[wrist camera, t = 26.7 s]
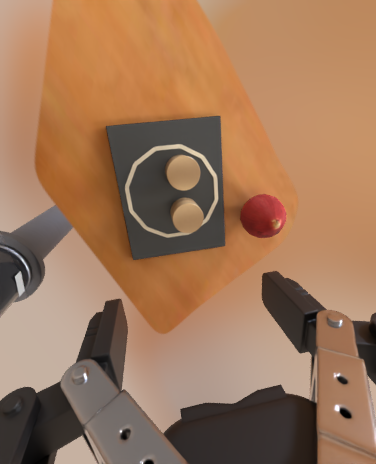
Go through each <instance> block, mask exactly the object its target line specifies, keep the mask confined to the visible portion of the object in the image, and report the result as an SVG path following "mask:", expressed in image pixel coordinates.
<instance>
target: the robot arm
mask: <svg viewBox="0 0 376 464" xmlns="http://www.w3.org/2000/svg"><path fill="white" fill-rule="evenodd" d="M31 280H32V268H31V265H30V263H29V261H28V260H27V259H26V257H25V256H24V255H23V254H22V253H20V252H19V251H18V250H16V249H14V248H13V247H11V246H8V245H5V244H2V243H0V317H1V316H2V315H3V314H4V313H5V311H6V310H7V309H8V308H9V307H10V306H11V305H12V303H13V302H14V301H15V300H16V299H17V298H18V297H20V296H21V295H22V293H23V292H24V291H25V290H26V288H27V287H28V286H29V285H30V283H31ZM262 300H263V303H264V305H265V307H266V308H267V310H268V311H269V313H270V314H271V315H272V317H273V318H274V319H275V321H276V322H277V323H278V325H279V326H280V327H281V329H282V330H283V331H284V333H285V334H286V336H287V337H288V338H289V339H290V341H291V342H292V344H293V345H294V346H295V348H296V349H297V350H298V352H299V353H305V352H310V354H311V370H310V371H311V372H310V395H309V399H306V398H304V397H301V396H298V395H293V394H286V393H285V391H284V390H283V388H282V386H281V385H278V386H273V387H269V388H265V389H261V390H257V391H255V392H254V393H252V394H250V395H249V396H247V397H245V398H243V399H242V400H241V401H238V402H237V403H234V404H223V403H203V404H199V405H195V406H191V407H187V408H183V409H181V417H182V419H180V420H178V421H177V422H175V423H174V424H173V425H171V426H170V427H169V428H168V429H167V430H166V431H165V432H164V433H162V432H161V431H160V430H159V429H158V427H157V426H156V425H155V424H154V423H153V422H152V420H151V419H150V418H149V417H148V416H147V414H146V413H145V412H144V411H143V410H142V409H141V407H140V406H139V405H138V404H137V403H136V401H135V400H134V399H133V398H132V397H131V396H130V394H129V393H128V392H127V391H126V390H122V381H123V371H124V362H125V353H126V343H127V334H128V327H127V320H126V316H125V312H124V309H123V304H122V300H121V299H116V300H111V301H106V302H105V306H104V310H103V312H98V313H96V314H95V315H94V316H93V318H92V319H91V320H90V322H89V325H88V328H87V331H86V334H85V337H84V340H83V343H82V346H81V349H80V352H79V355H78V358H77V361H76V363H75V364H74V365H72V366H71V367H70V368H69V369H68V370H67V371H66V372H65V373H64V375H63V377H62V379H61V381H60V382H58V383H56V384H54V385H52V386H50V387H48V388H46V389H44V390H42V391H40V392H38V393H36V392H35V390H34V389H33V388H31V387H23V388H20V389H17V390H15V391H13V392H12V393H10V394H8V395H7V396H5V397H4V398H3V399H2V400H1V401H0V464H54V461H55V457H56V453H57V450H58V449H60V448H61V447H63V446H65V445H67V444H68V443H70V442H72V441H73V440H75V439H77V438H78V437H80V436H82V437H83V438H84V440H85V442H86V444H87V445H88V448H89V450H90V451H91V453H92V455H93V457H94V459H95V461H96V463H97V464H376V417H375V412H374V407H373V402H372V397H371V391H370V386H369V381H368V376H369V378H370V379H371V380H372V381H373V382H374V383H375V384H376V313H374V314H373V315H372V316H371V320H370V322H366V321H351V320H350V319H349V318H348V317H347V316H346V315H344V314H342V313H340V312H337V311H333V310H327V309H325V308H324V307H323V306H322V305H321V304H320V303H319V302H318V301H317V300H315V299H314V298H313V297H312V296H311V295H310V294H308V292H307V291H306V290H304V289H303V288H302V287H301V286H300V285H299V284H298V283H297V282H295V281H293V280H291V279H289V278H284V277H283V276H282V275H281V274H280V273H279V272H277V271H273V272H268V273H264V274H263V276H262ZM367 375H368V376H367ZM121 390H122V391H121Z"/></svg>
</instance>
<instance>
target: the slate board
mask: <svg viewBox="0 0 376 464" xmlns="http://www.w3.org/2000/svg"><path fill="white" fill-rule="evenodd" d="M106 129H107V134H108V139H109V144H110V149H111V154H112V158H113V163H114V168H115V173H116V178H117V183H118V188H119V193H120V197H121V202H122V207H123V212H124V217H125V222H126V227H127V232H128V236H129V241H130V246H131V251H132V256H133V260H137V259H144V258H150V257H157V256H163V255H170V254H176V253H183V252H189V251H196V250H202V249H208V248H215V247H221V246H225V226H224V200H223V174H222V148H221V123H220V116H213V117H202V118H191V119H180V120H169V121H158V122H147V123H135V124H124V125H113V126H106ZM175 155H185V156H189V157H191V158H193V159H194V160H195V161H196V162H197V163H198V165H199V167H200V178H199V181H198V183H197V184H196V185H195V186H194V187H193V188H191V189H189V190H184V191H183V190H178V189H176V188H174V187H173V186H172V185H171V184H170V183H169V181H168V179H167V177H166V174H165V167H166V164H167V162H168V160H169V159H170V158H172V157H173V156H175ZM180 198H190V199H192V200H194V201H195V202H196V204H197V205H198V206H199V207H200V209H201V210H202V212H203V216H204V219H203V223H202V225H201V227H200V228H199V229H198V230H196V231H195V232H192V233H182V232H180V231H178V230H177V229H176V228H175V226H174V224H173V221H172V218H171V214H170V210H171V206H172V205H173V203H174V202H175V201H176V200H178V199H180Z"/></svg>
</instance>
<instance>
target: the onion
mask: <svg viewBox="0 0 376 464" xmlns="http://www.w3.org/2000/svg"><path fill="white" fill-rule="evenodd" d="M240 220H241V223H242V225H243V227H244V229H245V230H246V231H247V232H248V233H249V234H251V235H253V236H255V237H258V238H268V237H272V236H274V235H276V234H278V233H279V232H280V230H281V229H282V227H283V226H284V224H285V221H286V211H285V209H284V206H283V205H282V203H281V202H280V201H279V200H278V199H277V198H275V197H273V196H270V195H266V194H262V195H257V196H255V197H253V198H251V199H249V200H248V201H247V202H246V203H245V204H244V206H243V208H242V210H241V217H240Z"/></svg>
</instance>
